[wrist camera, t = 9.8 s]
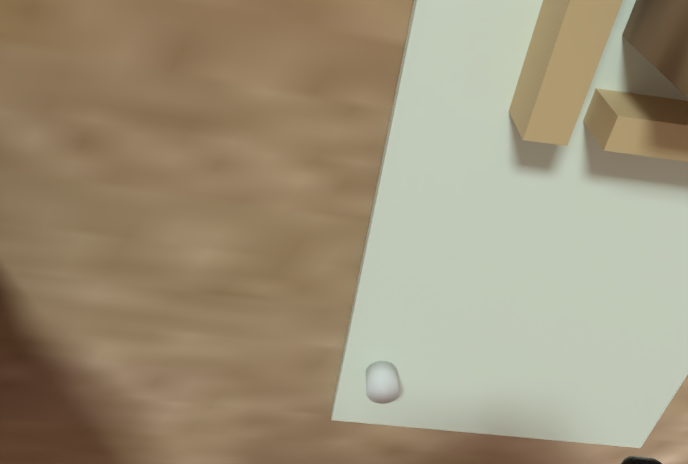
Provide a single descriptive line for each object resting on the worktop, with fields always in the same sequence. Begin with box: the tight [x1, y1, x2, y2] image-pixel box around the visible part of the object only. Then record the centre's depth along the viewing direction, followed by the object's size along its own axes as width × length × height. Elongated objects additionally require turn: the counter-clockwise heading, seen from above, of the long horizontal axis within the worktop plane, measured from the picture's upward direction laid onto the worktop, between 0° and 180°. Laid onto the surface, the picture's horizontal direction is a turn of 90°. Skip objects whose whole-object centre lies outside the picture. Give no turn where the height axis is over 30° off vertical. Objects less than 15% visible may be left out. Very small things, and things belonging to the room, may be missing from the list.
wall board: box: [331, 0, 688, 448], centre depth 18 cm, size 13×29×3 cm, turn 172°
